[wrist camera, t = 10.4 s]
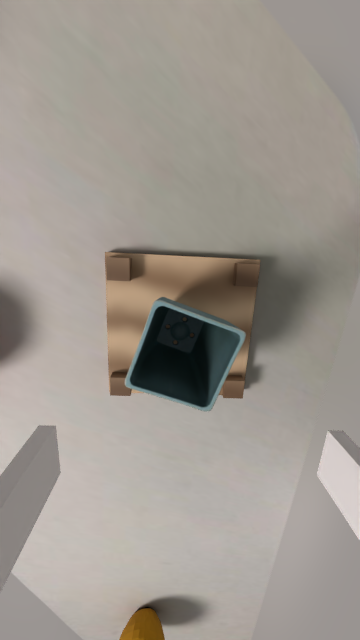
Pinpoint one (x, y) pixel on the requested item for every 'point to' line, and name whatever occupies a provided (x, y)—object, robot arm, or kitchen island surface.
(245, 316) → the trivet
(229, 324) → the flower pot
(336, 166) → the kitchen island surface
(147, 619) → the apple
